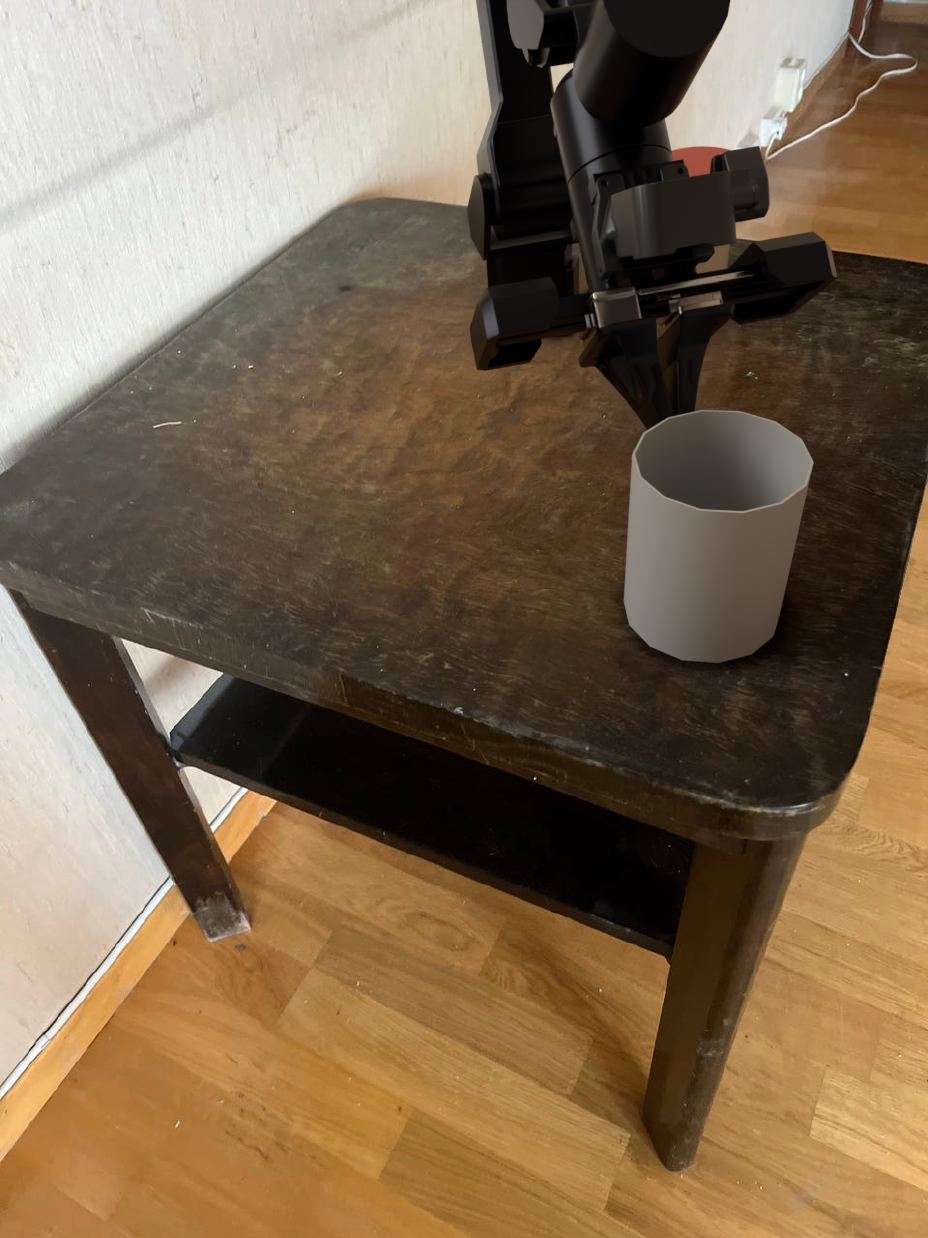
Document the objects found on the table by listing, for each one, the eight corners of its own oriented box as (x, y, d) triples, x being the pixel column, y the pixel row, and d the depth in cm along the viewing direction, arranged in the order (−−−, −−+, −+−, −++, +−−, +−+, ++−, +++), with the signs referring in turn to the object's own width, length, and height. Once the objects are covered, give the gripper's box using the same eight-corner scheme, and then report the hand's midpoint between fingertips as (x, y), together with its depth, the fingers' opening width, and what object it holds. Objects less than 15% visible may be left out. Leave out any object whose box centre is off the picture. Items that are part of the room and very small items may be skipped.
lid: (647, 198, 72) (648, 177, 71) (658, 164, 77) (659, 145, 76) (740, 200, 71) (742, 179, 70) (745, 166, 75) (748, 146, 74)
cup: (812, 624, 51) (851, 472, 44) (687, 685, 49) (708, 536, 41) (712, 538, 56) (732, 392, 49) (595, 590, 54) (599, 444, 47)
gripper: (463, 117, 42) (535, 462, 42) (858, 56, 44) (928, 387, 43) (445, 228, 53) (502, 501, 53) (761, 176, 55) (816, 440, 55)
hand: (679, 459), depth 51 cm, fingers closed, pressing on cup
